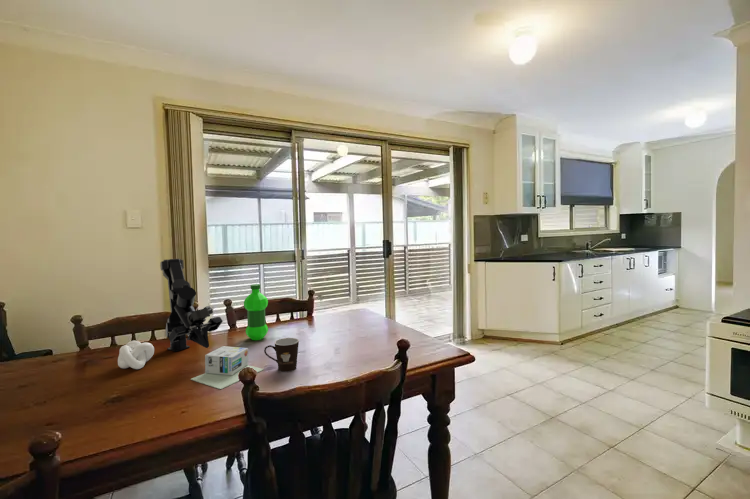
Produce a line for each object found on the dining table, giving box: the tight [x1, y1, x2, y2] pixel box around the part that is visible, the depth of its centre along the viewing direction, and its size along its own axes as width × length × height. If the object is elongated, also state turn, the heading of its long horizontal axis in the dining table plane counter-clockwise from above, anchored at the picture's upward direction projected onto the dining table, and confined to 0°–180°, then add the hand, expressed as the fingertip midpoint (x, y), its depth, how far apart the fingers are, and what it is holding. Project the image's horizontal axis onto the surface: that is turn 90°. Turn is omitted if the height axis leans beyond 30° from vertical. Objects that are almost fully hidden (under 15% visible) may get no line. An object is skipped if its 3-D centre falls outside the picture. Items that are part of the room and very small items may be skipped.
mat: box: [190, 364, 265, 390], centre depth 129 cm, size 16×18×1 cm
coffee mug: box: [263, 337, 300, 373], centre depth 134 cm, size 12×9×10 cm
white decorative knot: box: [117, 339, 155, 370], centre depth 137 cm, size 11×12×9 cm
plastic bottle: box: [243, 283, 269, 341], centre depth 169 cm, size 10×10×25 cm
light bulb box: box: [204, 345, 249, 375], centre depth 133 cm, size 11×7×11 cm
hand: (207, 347), depth 134 cm, fingers closed
